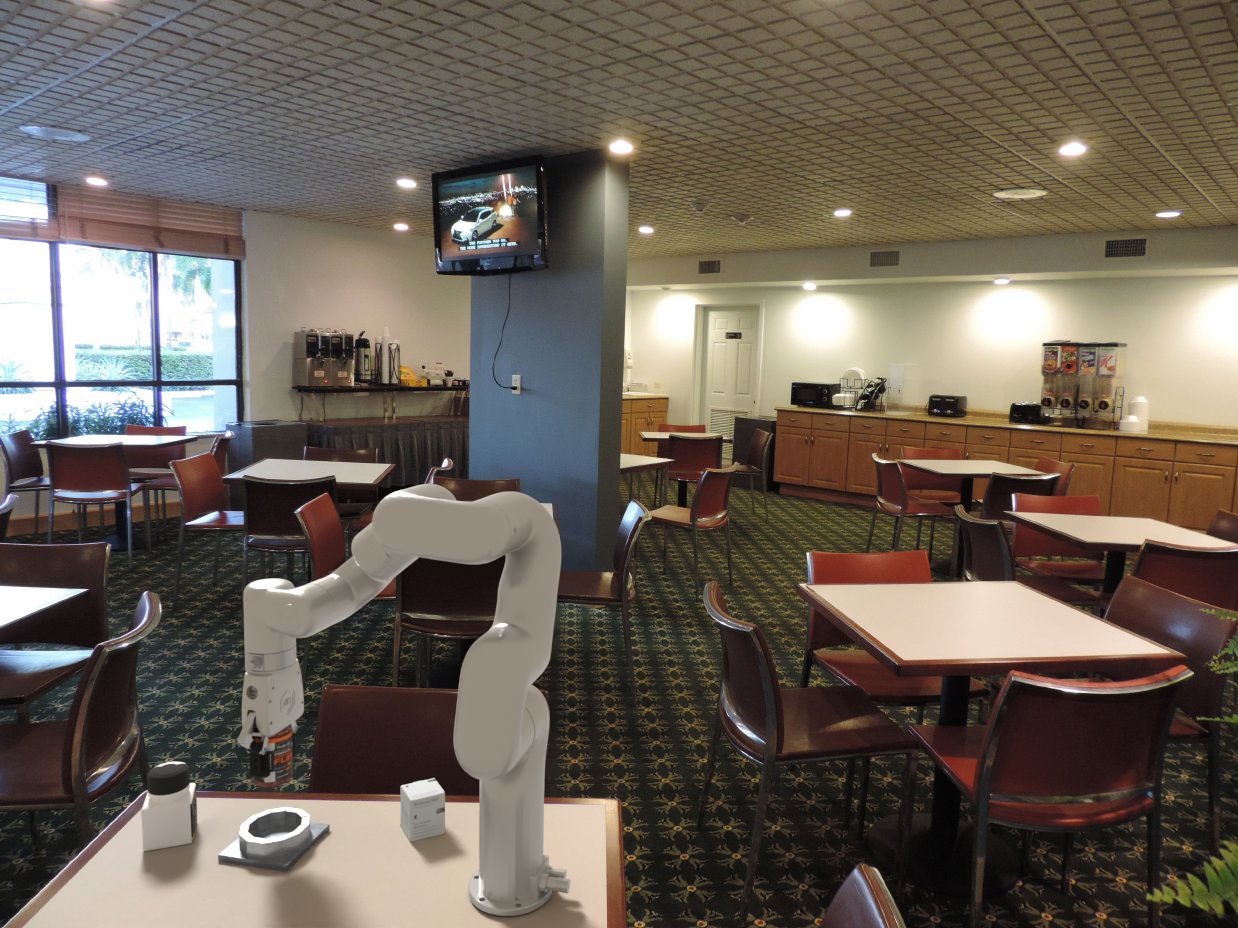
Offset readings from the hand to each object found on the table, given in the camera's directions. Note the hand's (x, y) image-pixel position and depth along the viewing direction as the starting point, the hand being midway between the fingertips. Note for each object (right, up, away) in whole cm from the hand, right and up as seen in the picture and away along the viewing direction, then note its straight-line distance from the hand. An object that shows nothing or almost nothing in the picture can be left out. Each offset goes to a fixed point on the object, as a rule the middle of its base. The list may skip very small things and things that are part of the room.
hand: (273, 764), depth 131 cm
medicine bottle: (-18, -13, +3) cm, 23 cm away
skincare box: (+22, -14, +7) cm, 27 cm away
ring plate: (0, -14, +1) cm, 14 cm away
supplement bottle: (0, -3, 0) cm, 3 cm away
